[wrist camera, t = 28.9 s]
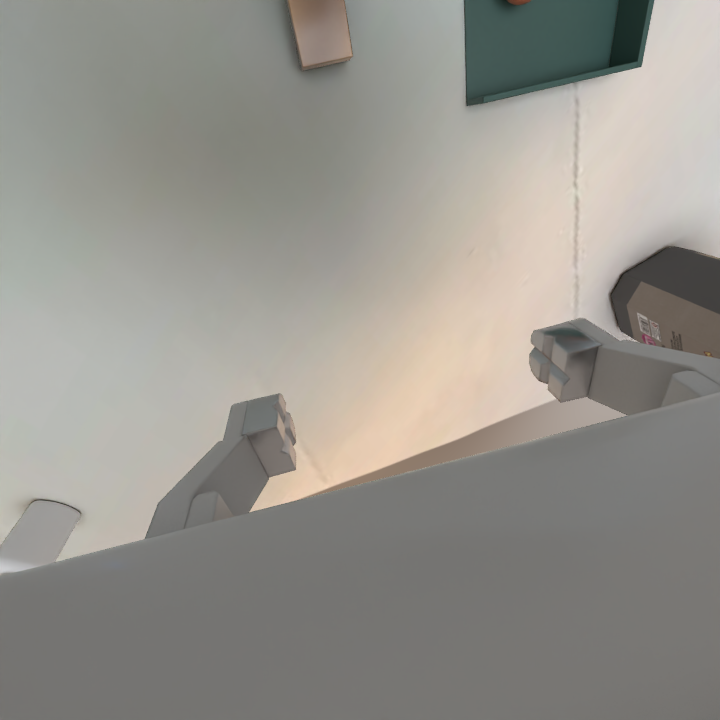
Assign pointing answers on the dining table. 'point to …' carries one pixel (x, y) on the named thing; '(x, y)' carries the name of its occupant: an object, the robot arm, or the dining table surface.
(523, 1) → the ball
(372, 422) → the dining table surface
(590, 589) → the robot arm
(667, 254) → the liquor
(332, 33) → the brush
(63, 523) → the eye dropper bottle
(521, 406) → the dining table surface
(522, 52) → the dustpan
